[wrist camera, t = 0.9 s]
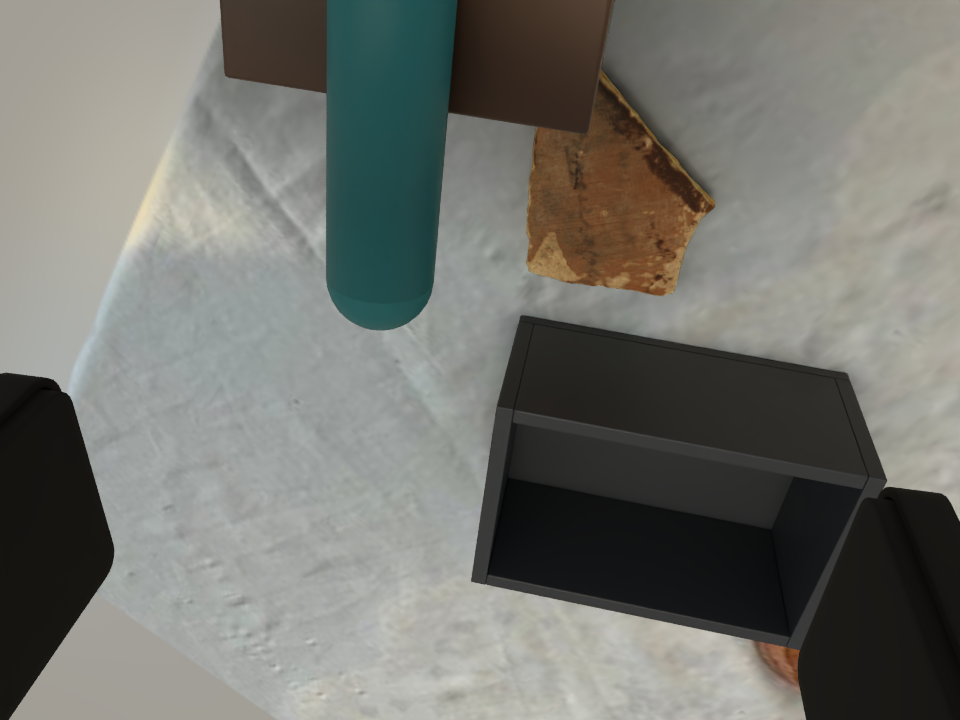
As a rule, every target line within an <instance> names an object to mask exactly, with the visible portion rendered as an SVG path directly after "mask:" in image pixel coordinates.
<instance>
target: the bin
mask: <svg viewBox="0 0 960 720" xmlns="http://www.w3.org/2000/svg"><path fill="white" fill-rule="evenodd" d="M886 482H887V479H886V476H885V473H884V471H883V468H882V465H881V462H880V460H879V457H878V454H877V452H876V449H875V446H874V444H873V441H872V438H871V436H870V433H869V430H868V428H867V425H866V422H865V420H864V417H863V414H862V411H861V409H860V406H859V403H858V401H857V398H856V395H855V393H854V390H853V387H852V385H851V382H850V380H849V377H848V375H847V374H844V373H838V372H833V371H827V370H822V369H816V368H811V367H805V366H799V365H794V364H788V363H783V362H777V361H772V360H766V359H760V358H755V357H749V356H744V355H738V354H733V353H727V352H721V351H716V350H710V349H705V348H699V347H694V346H688V345H682V344H677V343H671V342H666V341H660V340H655V339H649V338H643V337H638V336H632V335H627V334H621V333H616V332H610V331H604V330H599V329H593V328H588V327H582V326H577V325H571V324H565V323H560V322H554V321H549V320H543V319H538V318H532V317H526V316H521V317H520V321H519V324H518V328H517V332H516V336H515V339H514V343H513V347H512V351H511V355H510V358H509V362H508V366H507V370H506V373H505V377H504V381H503V385H502V389H501V392H500V396H499V400H498V404H497V408H496V415H495V422H494V429H493V435H492V442H491V449H490V456H489V463H488V469H487V476H486V483H485V490H484V497H483V503H482V510H481V517H480V524H479V531H478V537H477V544H476V551H475V558H474V565H473V572H472V578H471V581H472V582H475V583H480V584H487V585H491V586H495V587H500V588H505V589H510V590H515V591H519V592H524V593H529V594H534V595H539V596H543V597H548V598H553V599H558V600H563V601H567V602H572V603H577V604H582V605H587V606H591V607H596V608H601V609H606V610H611V611H615V612H620V613H625V614H630V615H635V616H639V617H644V618H649V619H654V620H659V621H663V622H668V623H673V624H678V625H683V626H687V627H692V628H697V629H702V630H707V631H711V632H716V633H721V634H726V635H731V636H735V637H740V638H745V639H750V640H755V641H759V642H764V643H769V644H774V645H779V646H783V647H785V646H786V647H787V648H792V649H797V650H800V649H801V646H802V644H803V641H804V639H805V637H806V634H807V632H808V629H809V627H810V624H811V622H812V620H813V617H814V615H815V612H816V610H817V607H818V605H819V603H820V600H821V598H822V595H823V593H824V591H825V588H826V586H827V583H828V581H829V578H830V576H831V574H832V571H833V569H834V566H835V564H836V561H837V559H838V557H839V554H840V552H841V549H842V547H843V544H844V542H845V540H846V537H847V535H848V532H849V530H850V528H851V525H852V523H853V520H854V518H855V515H856V513H857V511H858V508H859V506H860V504H861V502H862V501H863V500H864V499H865V498H868V497H870V498H877V497H878V496H879V494H880V492H881V491H882V490H883V488H884V486H885V484H886Z"/></svg>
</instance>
